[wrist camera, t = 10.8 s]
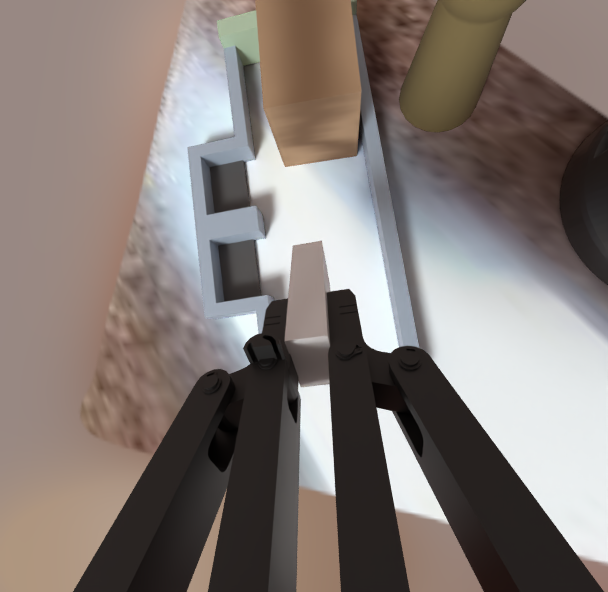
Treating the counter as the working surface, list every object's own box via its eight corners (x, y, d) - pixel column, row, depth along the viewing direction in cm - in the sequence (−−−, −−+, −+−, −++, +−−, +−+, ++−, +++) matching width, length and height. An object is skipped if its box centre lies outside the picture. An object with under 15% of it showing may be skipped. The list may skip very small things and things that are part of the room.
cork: (399, 65, 25) (440, -132, 15) (477, 60, 25) (582, -153, 14) (398, 133, 25) (441, -20, 14) (478, 130, 24) (589, -35, 13)
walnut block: (344, 48, 26) (344, -52, 19) (356, 156, 25) (361, 91, 18) (276, 61, 27) (252, -31, 20) (285, 167, 26) (263, 108, 19)
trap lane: (352, 22, 26) (353, -17, 23) (419, 383, 22) (431, 391, 19) (188, 64, 28) (170, 33, 25) (225, 407, 24) (208, 418, 21)
